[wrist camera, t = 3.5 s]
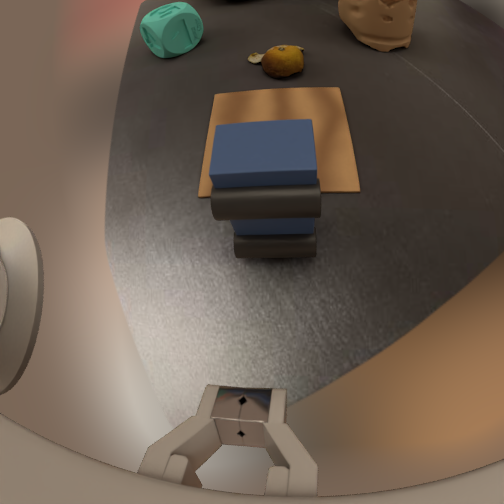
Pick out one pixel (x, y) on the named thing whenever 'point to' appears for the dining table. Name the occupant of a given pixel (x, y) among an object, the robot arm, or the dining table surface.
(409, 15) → the container
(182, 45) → the decorative dice
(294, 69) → the fruit
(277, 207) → the toy car
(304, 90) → the brown flat square board
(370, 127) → the dining table surface
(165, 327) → the dining table surface
